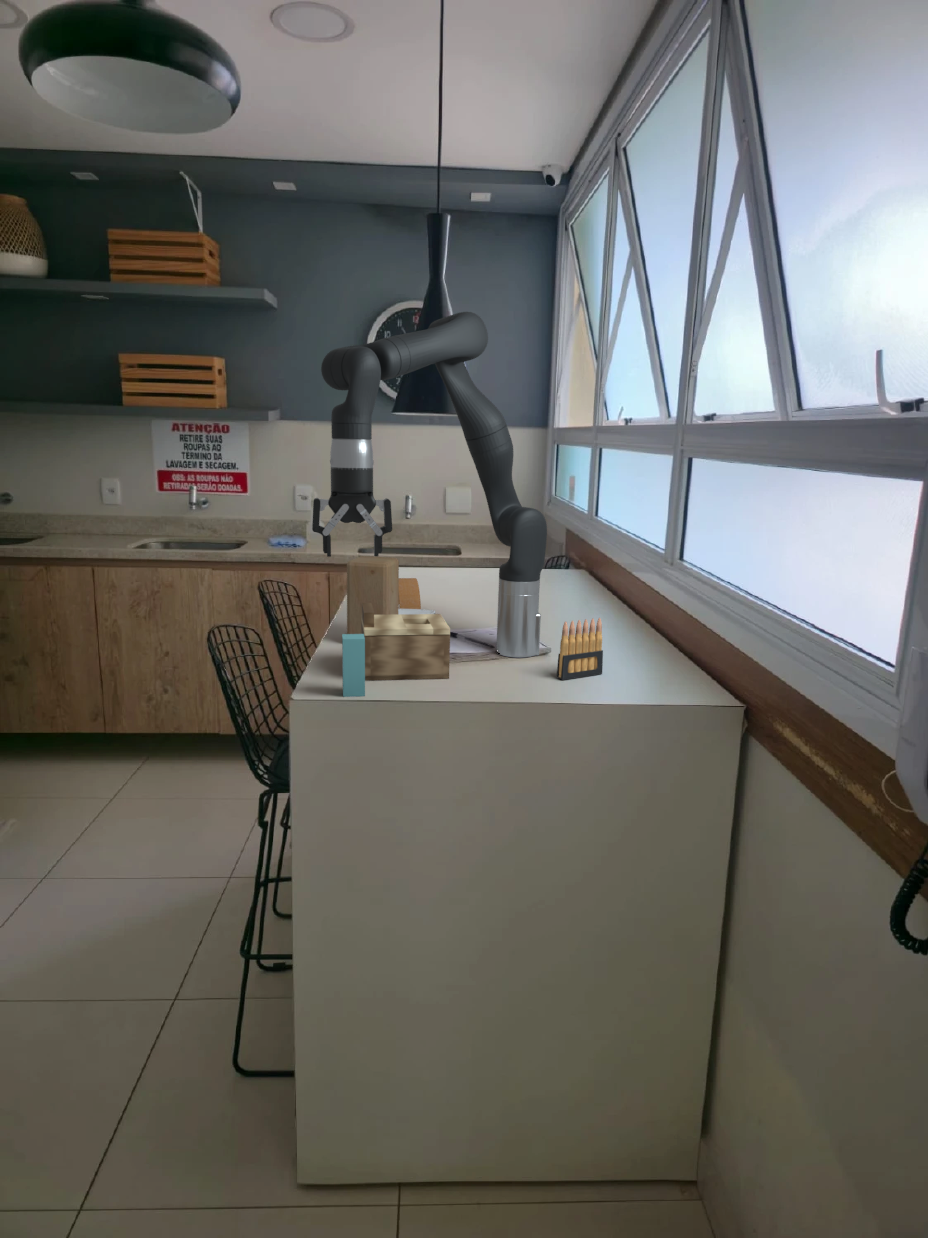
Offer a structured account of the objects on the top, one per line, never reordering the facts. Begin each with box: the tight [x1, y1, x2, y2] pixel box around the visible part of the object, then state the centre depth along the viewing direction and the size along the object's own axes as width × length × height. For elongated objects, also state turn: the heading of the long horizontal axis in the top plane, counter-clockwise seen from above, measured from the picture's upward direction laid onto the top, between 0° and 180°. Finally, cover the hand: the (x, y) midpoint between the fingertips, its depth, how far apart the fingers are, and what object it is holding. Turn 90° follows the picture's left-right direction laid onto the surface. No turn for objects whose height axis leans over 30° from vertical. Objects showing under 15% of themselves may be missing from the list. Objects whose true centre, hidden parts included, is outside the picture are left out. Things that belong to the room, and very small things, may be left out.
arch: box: [398, 577, 422, 609], centre depth 221 cm, size 6×20×10 cm, turn 11°
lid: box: [361, 603, 451, 636], centre depth 164 cm, size 17×14×4 cm
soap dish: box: [398, 608, 436, 614], centre depth 201 cm, size 12×10×5 cm
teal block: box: [341, 633, 366, 698], centre depth 149 cm, size 4×4×11 cm
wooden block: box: [346, 555, 400, 634], centre depth 186 cm, size 10×10×20 cm
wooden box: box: [361, 621, 451, 682], centre depth 165 cm, size 17×14×9 cm
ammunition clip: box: [556, 617, 604, 681], centre depth 164 cm, size 11×2×12 cm, turn 120°
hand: (352, 556), depth 145 cm, fingers open, 8 cm apart
